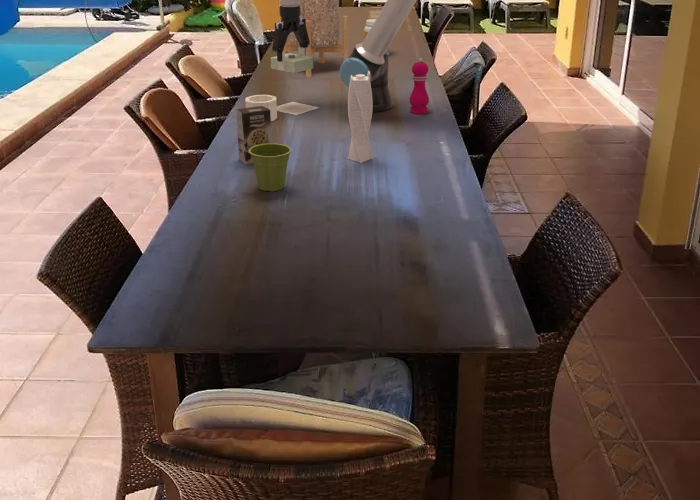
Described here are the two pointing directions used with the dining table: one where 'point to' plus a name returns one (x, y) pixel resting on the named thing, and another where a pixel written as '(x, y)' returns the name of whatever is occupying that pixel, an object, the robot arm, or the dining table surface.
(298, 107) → the mat
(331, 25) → the planter
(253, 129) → the coffee box
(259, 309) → the dining table surface
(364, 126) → the skyscraper
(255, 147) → the plant pot
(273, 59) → the lid
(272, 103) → the bowl
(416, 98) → the pepper mill
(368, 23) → the supplement tub
